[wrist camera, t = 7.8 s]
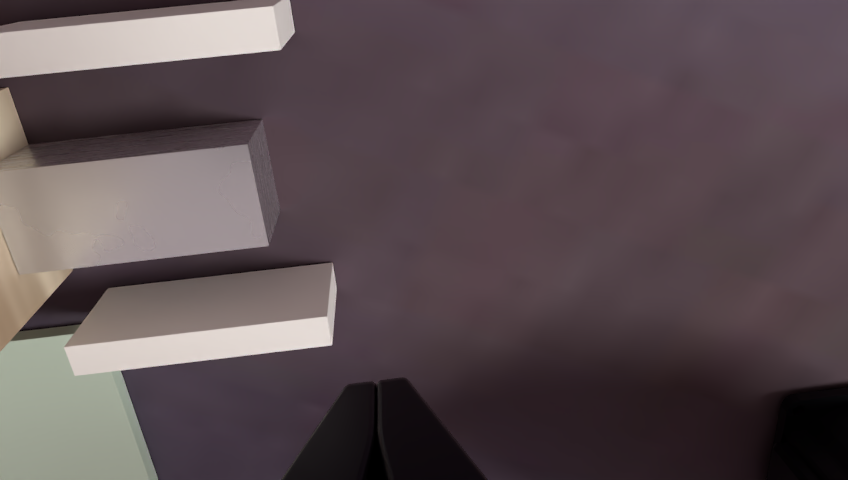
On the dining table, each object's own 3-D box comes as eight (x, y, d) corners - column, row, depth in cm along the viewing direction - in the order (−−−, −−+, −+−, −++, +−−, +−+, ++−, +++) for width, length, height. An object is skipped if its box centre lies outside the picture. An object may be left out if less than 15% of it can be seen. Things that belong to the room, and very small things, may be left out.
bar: (263, 117, 20) (247, 144, 17) (281, 207, 21) (268, 245, 18) (32, 142, 20) (-22, 173, 17) (64, 231, 21) (19, 274, 18)
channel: (288, -5, 18) (273, 6, 15) (336, 288, 22) (332, 345, 19) (19, 21, 18) (-55, 38, 15) (116, 313, 22) (74, 375, 19)
